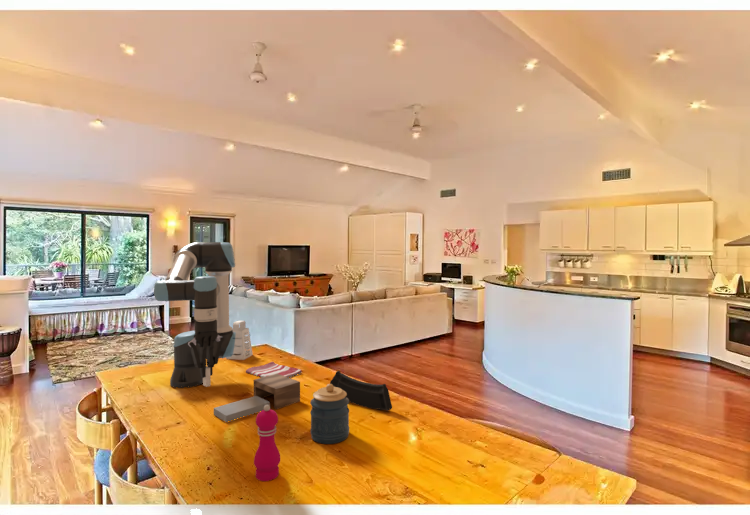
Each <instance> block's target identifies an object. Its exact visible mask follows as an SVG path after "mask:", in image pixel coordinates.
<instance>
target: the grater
mask: <svg viewBox="0 0 750 515" xmlns="http://www.w3.org/2000/svg"><path fill="white" fill-rule="evenodd" d="M246 324H247V323H246V321H245V320H237V321H233V324H232V328H233V332H236V338H235V345H234V352H233V355H232V356H231V357H227V358H225V359H226V360H237V361H238V360H239V361H245V360H246V359H248V358H250V357H252V356H254V355H253V347H252V341H251V337H250V336H251V335H250V329H249V327H247V326H246Z"/></svg>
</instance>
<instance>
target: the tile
mask: <svg viewBox="0 0 750 515" xmlns="http://www.w3.org/2000/svg"><path fill="white" fill-rule="evenodd" d="M265 405H269V406H270V407H271V403H270V401H268V400H267V399H264V398H260V397H258V396H254V395H253V396H250V397H247V398H243V399H241V400H237V401H233V402H230V403H227V404H223V405H219V406H217V407H213V415H214V416H215V417H217V418H218V419H220V420H221V421H223V422H224V421H225V422H224V423H226V422H227V423H229V422H228V421H230V422H232V421H231V420H233V421H235V420H234V419H236V420H238V419H237V418H239V419H241V418H240V417H242V418H244V417H243V416H245V417H248V416H251V415H250V414H252V415H254V413H255V414H258V413H259V412H260V411H262V410H264V406H265ZM257 412H258V413H257ZM247 415H248V416H247Z"/></svg>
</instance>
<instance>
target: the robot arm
mask: <svg viewBox="0 0 750 515" xmlns="http://www.w3.org/2000/svg"><path fill="white" fill-rule="evenodd" d="M233 248H234V247H233V245H232V244H231V242H224V241H215V242H212V241H203V242H201V241H197V242H195V241H194V242H192V243H189V244H186V245H184V246H183V247H181V248H180V249H178V250H177V251H176V252H175V254H174V256H173V258H172V259H173V260H172V262H173V263H172V266H171V268H170V270H169V271H168V274H167V276H166V278H165V280H157V281H155V283H154V285H153V286H154V287H153V296H154V299H155V301H158V302H178V301H193V302H194V306H193V308H194V309H193V310H194V312H193V313H194V316H193V319H194V320H195V321H194V330H189V331H184V332H181V333H179V334H177V335H176V336H174V339H173V340H174V341H173V361H174V362H173V364H174V365H173V366H174V367H173V370H172V374H171V377H170V379H169V380H170V382H169V384H170V385H169V386H171V387H172V388H176V387H178V389H185V388H184V387H187V388H193V386H194V387H197V385H198V386H200V384H201V385H202V386H204V387H206V388H207V387H211V376H213V372H214V371H213V369H214V367H215V365H218V363H219V359H226V358H227V357H231V356H232V355H233V352H234V345H235V338H236V332H233V326H231V325H230V296H229V295H230V293H229V292H230V290H229V289H230V288H229V283H230V282H229V275H230V274H231V273H232V271H233V268H235V267H236V262H235V253H234V249H233ZM195 268H196V269H197V268H203V269H204V270H205V273H206V274H207V275H204V276H203V275H202V276H196V277H195V278H194V279H190V280H189V277H190V275H191V272H192V270H194V269H195ZM202 383H203V384H202Z"/></svg>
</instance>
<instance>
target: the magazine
mask: <svg viewBox="0 0 750 515" xmlns="http://www.w3.org/2000/svg"><path fill="white" fill-rule="evenodd" d="M329 384H332V385H333V386H334V387H338V388H341V389H342V390H344V391H345V392H346V393H347V395H346V397H347V398H348V399H349V403H351V404H354V405H357V406H360V407H364V408H367V409H375V410H381V411H382V410H383V411H388V412H389V411H391V410H392V409H393V405H392V401H391V396H390V392H389V389H388V387H387V384H386V383H383V384H377V383H369V382H365V381H361V380H357V379H354V378H352V377H350V376H348V375H345V373H342V372H341V371H340V370H338V371H336V372H335V374H334V376H333V377H332V379H331V380H330V382H329Z"/></svg>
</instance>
